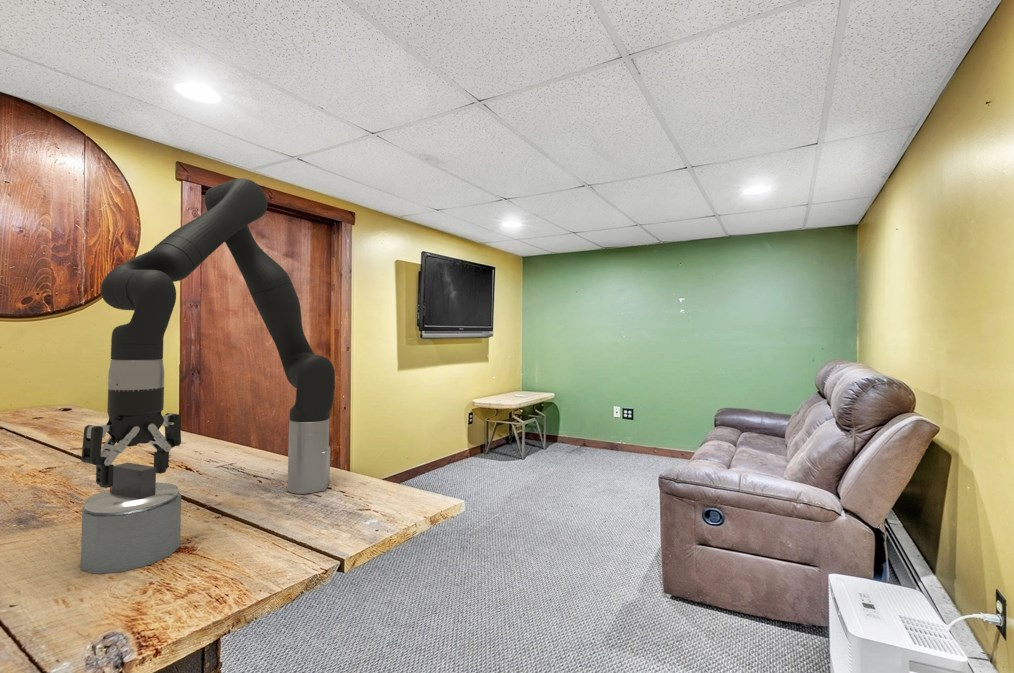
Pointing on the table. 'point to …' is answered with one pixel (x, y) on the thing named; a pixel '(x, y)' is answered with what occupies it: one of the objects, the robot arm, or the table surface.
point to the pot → (129, 538)
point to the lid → (131, 492)
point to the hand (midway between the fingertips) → (134, 479)
